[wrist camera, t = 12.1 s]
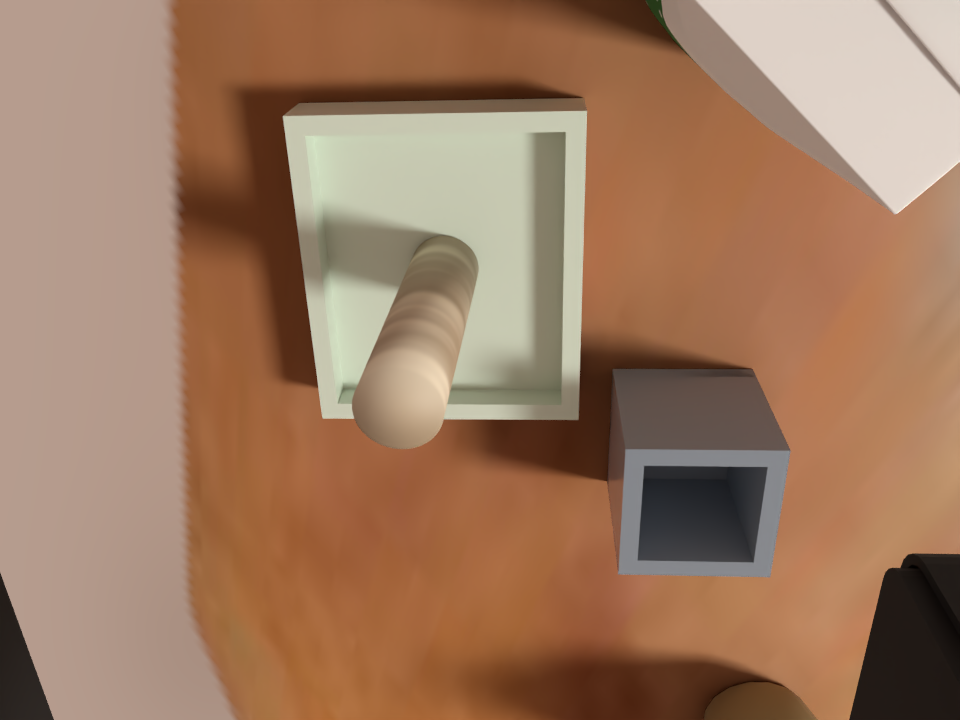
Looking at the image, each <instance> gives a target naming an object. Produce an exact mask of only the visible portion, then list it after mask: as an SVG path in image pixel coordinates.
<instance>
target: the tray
mask: <svg viewBox="0 0 960 720" xmlns="http://www.w3.org/2000/svg"><path fill="white" fill-rule="evenodd" d="M283 122H284V129H285V137H286V145H287V152H288V160H289V167H290V175H291V183H292V190H293V198H294V206H295V213H296V221H297V228H298V236H299V244H300V251H301V259H302V267H303V274H304V282H305V289H306V297H307V305H308V312H309V320H310V328H311V335H312V343H313V350H314V358H315V366H316V373H317V381H318V389H319V396H320V404H321V411H322V418H344V419H354V416H353V412H352V399H353V395H354V392H355V390H356V387H357V385H358V383H359V380H360V378H361V376H362V374H363V371H364V369H365V367H366V364H367V362H368V360H369V357H370V355H371V353H372V350H373V348H374V346H375V343H376V341H377V339H378V336H379V334H380V332H381V329H382V327H383V325H384V322H385V320H386V318H387V315H388V313H389V311H390V308H391V306H392V304H393V301H394V299H395V297H396V294H397V292H398V290H399V287H400V285H401V283H402V280H403V278H404V276H405V273H406V271H407V269H408V266H409V264H410V262H411V259H412V257H413V255H414V253H415V251H416V249H417V248H418V247H419V246H420V244H422V243H423V242H424V241H426V240H428V239H430V238H432V237H436V236H450V237H454V238H457V239H459V240H461V241H463V242H464V243H466V244H467V245H468V246H469V247H470V248H471V249H472V251H473V252H474V254H475V256H476V258H477V261H478V266H479V272H478V277H477V281H476V286H475V290H474V294H473V298H472V302H471V306H470V311H469V315H468V319H467V323H466V327H465V332H464V336H463V340H462V344H461V348H460V352H459V357H458V361H457V365H456V369H455V373H454V377H453V382H452V386H451V390H450V394H449V398H448V403H447V407H446V411H445V415H444V419H496V420H579V386H580V349H581V312H582V276H583V239H584V202H585V166H586V129H587V109H586V105H585V100H584V98H553V99H498V100H442V101H387V102H331V103H298V104H297V105H296V106H295V107H293V108H292V109H291V110H290V111H288V112H287V113H286V114H285V115H283Z"/></svg>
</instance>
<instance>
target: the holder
mask: <svg viewBox="0 0 960 720" xmlns="http://www.w3.org/2000/svg"><path fill="white" fill-rule="evenodd" d="M789 457H790V449H789V446H788V444H787V442H786V440H785V438H784V436H783V433H782V431H781V429H780V427H779V425H778V423H777V421H776V418H775V416H774V414H773V412H772V410H771V408H770V406H769V403H768V401H767V399H766V397H765V395H764V393H763V390H762V388H761V386H760V384H759V382H758V380H757V378H756V375H755V373H754V371H753V369H613V371H612V392H611V413H610V435H609V456H608V477H607V484H608V492H609V501H610V509H611V517H612V526H613V534H614V542H615V551H616V559H617V567H618V574H629V575H684V576H739V577H770V575H771V568H772V562H773V556H774V550H775V544H776V537H777V531H778V525H779V519H780V513H781V506H782V500H783V494H784V488H785V482H786V476H787V469H788V463H789Z"/></svg>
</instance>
